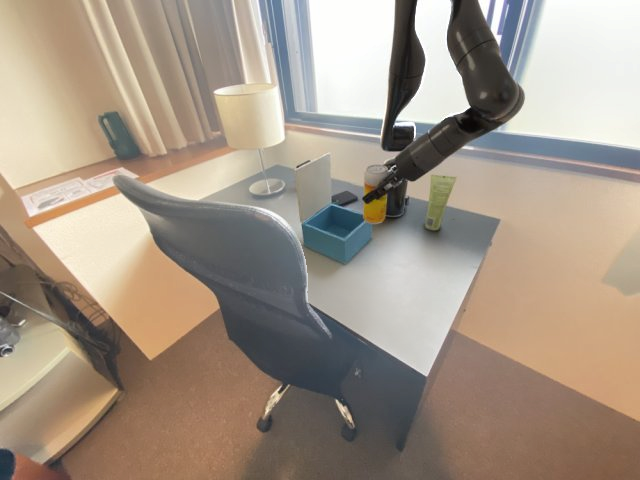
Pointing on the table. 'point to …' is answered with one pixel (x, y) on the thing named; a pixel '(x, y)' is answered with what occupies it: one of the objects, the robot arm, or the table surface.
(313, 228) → the blue open box
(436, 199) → the tube
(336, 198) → the smart home device
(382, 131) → the robot arm
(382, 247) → the table surface
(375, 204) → the beer can
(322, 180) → the lid
